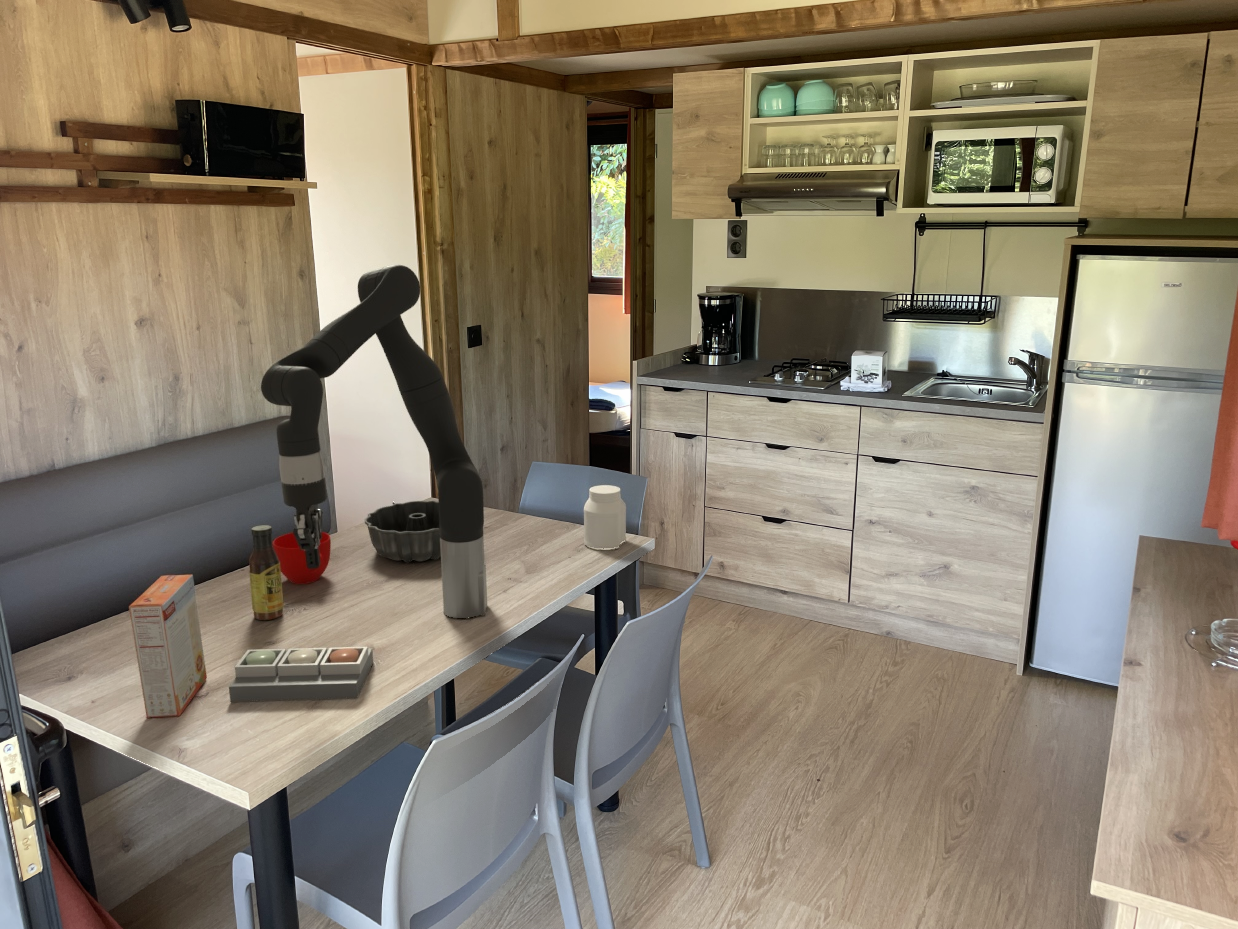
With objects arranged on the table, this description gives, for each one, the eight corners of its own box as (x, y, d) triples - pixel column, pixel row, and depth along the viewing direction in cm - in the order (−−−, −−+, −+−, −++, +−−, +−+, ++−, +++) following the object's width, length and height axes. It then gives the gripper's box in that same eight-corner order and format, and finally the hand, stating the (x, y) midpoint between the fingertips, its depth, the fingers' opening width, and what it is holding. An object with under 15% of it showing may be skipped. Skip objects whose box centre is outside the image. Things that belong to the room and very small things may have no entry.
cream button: (320, 656, 170) (320, 648, 170) (313, 668, 165) (312, 661, 165) (293, 657, 170) (292, 649, 169) (285, 669, 165) (284, 661, 165)
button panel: (373, 662, 176) (371, 638, 175) (357, 698, 162) (355, 672, 161) (256, 665, 175) (254, 641, 173) (230, 702, 161) (227, 676, 160)
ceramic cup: (296, 598, 207) (292, 556, 204) (267, 578, 219) (263, 538, 217) (350, 584, 215) (346, 544, 213) (319, 565, 227) (316, 527, 225)
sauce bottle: (273, 622, 194) (264, 533, 189) (247, 620, 195) (237, 532, 190) (290, 610, 200) (282, 524, 195) (264, 608, 201) (256, 522, 196)
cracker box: (174, 680, 169) (160, 574, 164) (208, 679, 169) (195, 573, 164) (142, 719, 155) (126, 604, 150) (179, 717, 156) (164, 603, 151)
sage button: (279, 657, 170) (278, 649, 169) (271, 669, 165) (270, 662, 164) (252, 658, 169) (251, 650, 169) (242, 670, 164) (242, 663, 164)
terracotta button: (361, 655, 170) (361, 647, 170) (355, 667, 166) (355, 660, 165) (334, 656, 170) (333, 648, 170) (327, 668, 165) (326, 660, 165)
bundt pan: (423, 576, 220) (421, 537, 218) (344, 558, 233) (341, 520, 231) (491, 545, 242) (489, 509, 240) (416, 529, 255) (414, 495, 253)
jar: (596, 535, 250) (595, 482, 246) (629, 538, 247) (629, 485, 243) (580, 548, 240) (579, 493, 236) (614, 552, 236) (614, 496, 233)
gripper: (316, 485, 158) (327, 579, 163) (331, 466, 171) (341, 553, 175) (271, 488, 158) (284, 582, 162) (290, 468, 170) (301, 556, 175)
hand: (314, 567), depth 169 cm, fingers closed
